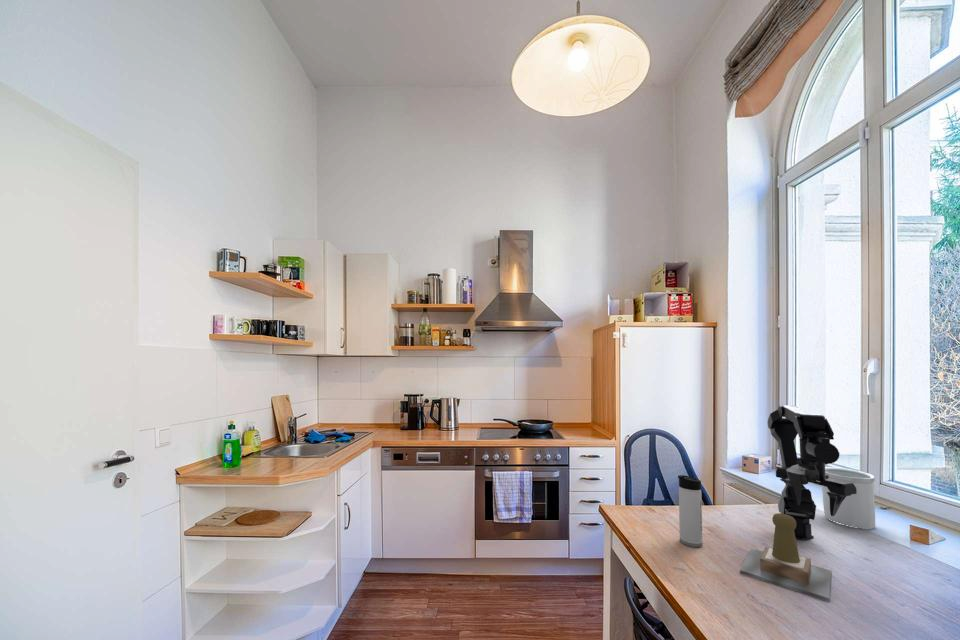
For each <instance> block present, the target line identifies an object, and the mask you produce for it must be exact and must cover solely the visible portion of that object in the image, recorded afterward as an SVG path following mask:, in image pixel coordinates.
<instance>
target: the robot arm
mask: <svg viewBox="0 0 960 640" xmlns="http://www.w3.org/2000/svg"><path fill="white" fill-rule="evenodd" d="M767 427H768V429H770V435H771V436H772V437H773V438H774V440H776V442H777V443H778V450H779V454H780V460H781V466H782V467H777V468H776V470H775V477H776V478H779V480H780V481H781V482H782V483H783V482H784V483H785V485H784V487H783V489H782V491H781V497H780V499H779V501H778V503H777V507H778V513H781V514H786V515H789V516H791V517H793V518H794V519H795V521H796V528H795V529H794V533H795V538H796V540H797V539H798V540H800V541H802V540H809V539H813V538H815V537H814V535H812V534H813V533H812V524H811V521H810V520H812V521H814V520H815V518H816V512H817V504H816V503H815V500H814V499H813V496H812V492H811V490H810V489H809V488H806V487H805V485H808V484H809V483H811V484H815V485H818V486H821V487H822V486H825V487H827V488H828V489H829V491H830V492H827V494H828V496H829V497H830V514H831V516H835V514H836V512H837V510H838V508H839V507H840V505H841V503H842V502H843V500H844V499H845V498H846V496H851V494H857V491H856V487H855V485H854V484H853V483H850V482H846V481H842V480H832V481H828V480H826V479H829V475H826V474H825V467H826V465H827V466H828V465H830V464H834V463H836V462H837V461H838V460H839V458H840V455H841V454H840V451H839V449H838V448H837V447H836V446H835V444H832V443H831V440H832V441H833V440H835V439H834V436H835V433H834V431H833V429H832V427H831V424H830V422H829V421H828V419H827V418H826V417H825V416H824V415H823V414H822V413H809V412H807V411H805V410H802V409H801V408H799V407H798V406H795V405H785V404H781V405H779V406H778V408H777V409H776V410H774V411H773V412H771V413H769V416H768V419H767ZM797 436H798V437H799V439H798V440H799V457H798V455H797V450H796V443H795V440H796V438H797Z"/></svg>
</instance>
